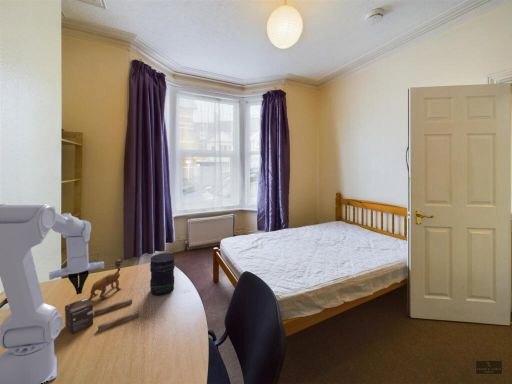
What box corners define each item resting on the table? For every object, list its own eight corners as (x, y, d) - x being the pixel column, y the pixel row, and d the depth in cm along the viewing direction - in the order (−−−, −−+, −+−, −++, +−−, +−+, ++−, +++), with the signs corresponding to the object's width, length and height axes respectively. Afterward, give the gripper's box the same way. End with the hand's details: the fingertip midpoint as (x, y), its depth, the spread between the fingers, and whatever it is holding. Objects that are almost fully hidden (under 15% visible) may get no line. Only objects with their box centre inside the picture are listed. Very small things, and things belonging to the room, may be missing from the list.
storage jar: (173, 282, 103) (174, 252, 102) (175, 293, 94) (175, 260, 93) (150, 286, 99) (150, 254, 97) (149, 298, 90) (149, 263, 89)
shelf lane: (98, 331, 71) (98, 327, 70) (94, 314, 79) (94, 310, 79) (139, 316, 79) (139, 312, 79) (131, 302, 87) (131, 298, 87)
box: (70, 335, 69) (70, 313, 68) (65, 326, 72) (64, 305, 72) (93, 324, 74) (93, 304, 73) (87, 317, 77) (86, 297, 77)
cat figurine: (83, 312, 81) (81, 277, 79) (72, 307, 83) (69, 273, 81) (128, 287, 97) (126, 258, 95) (118, 283, 100) (116, 255, 98)
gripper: (101, 247, 82) (102, 281, 83) (48, 256, 72) (50, 294, 73) (105, 252, 77) (105, 289, 78) (48, 263, 67) (50, 304, 68)
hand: (79, 292), depth 75 cm, fingers closed
